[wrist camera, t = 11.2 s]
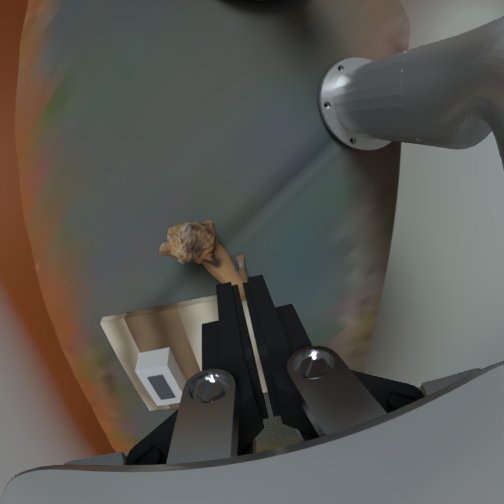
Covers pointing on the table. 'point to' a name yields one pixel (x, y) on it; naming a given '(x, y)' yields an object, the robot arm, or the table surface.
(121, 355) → the plywood board
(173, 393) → the block
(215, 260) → the lion figurine
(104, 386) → the table surface
